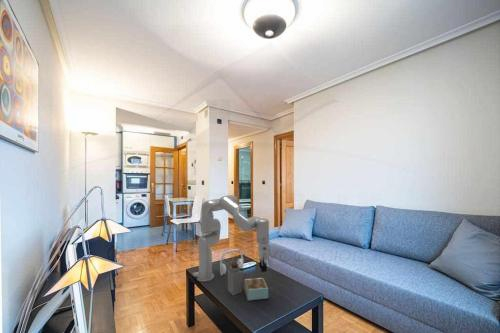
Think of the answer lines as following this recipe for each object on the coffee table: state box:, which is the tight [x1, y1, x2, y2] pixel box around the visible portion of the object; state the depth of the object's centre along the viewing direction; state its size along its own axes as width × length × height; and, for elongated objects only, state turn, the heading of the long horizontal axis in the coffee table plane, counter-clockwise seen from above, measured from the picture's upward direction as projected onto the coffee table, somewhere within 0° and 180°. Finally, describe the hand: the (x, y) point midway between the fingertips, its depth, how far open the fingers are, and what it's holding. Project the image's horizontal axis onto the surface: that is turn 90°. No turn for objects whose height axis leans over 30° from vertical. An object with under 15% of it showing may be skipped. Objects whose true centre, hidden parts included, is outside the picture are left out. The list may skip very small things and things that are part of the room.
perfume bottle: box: [227, 262, 243, 296], centre depth 143 cm, size 7×7×18 cm
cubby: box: [243, 277, 269, 299], centre depth 140 cm, size 13×12×7 cm
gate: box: [246, 287, 269, 301], centre depth 133 cm, size 13×1×6 cm, turn 100°
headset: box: [219, 248, 244, 276], centre depth 169 cm, size 20×7×18 cm, turn 124°
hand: (263, 269), depth 131 cm, fingers open, 4 cm apart
